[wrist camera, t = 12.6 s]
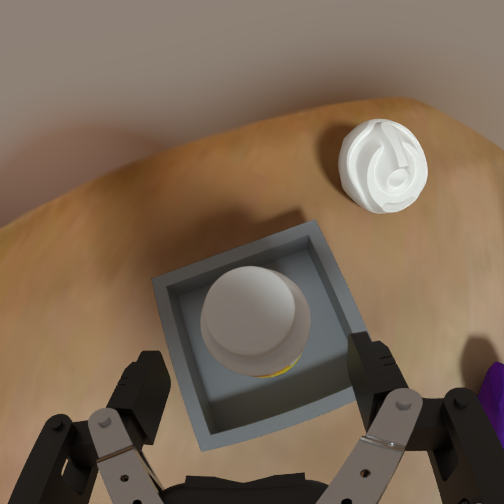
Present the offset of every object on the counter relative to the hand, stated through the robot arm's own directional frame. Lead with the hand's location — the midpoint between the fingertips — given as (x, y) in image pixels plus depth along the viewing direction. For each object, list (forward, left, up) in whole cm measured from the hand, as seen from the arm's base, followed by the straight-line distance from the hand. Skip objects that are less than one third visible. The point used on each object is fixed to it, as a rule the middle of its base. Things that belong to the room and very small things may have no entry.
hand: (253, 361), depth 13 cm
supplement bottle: (+1, +2, -10) cm, 10 cm away
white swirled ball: (+15, +11, -11) cm, 22 cm away
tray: (+1, +2, -11) cm, 11 cm away
